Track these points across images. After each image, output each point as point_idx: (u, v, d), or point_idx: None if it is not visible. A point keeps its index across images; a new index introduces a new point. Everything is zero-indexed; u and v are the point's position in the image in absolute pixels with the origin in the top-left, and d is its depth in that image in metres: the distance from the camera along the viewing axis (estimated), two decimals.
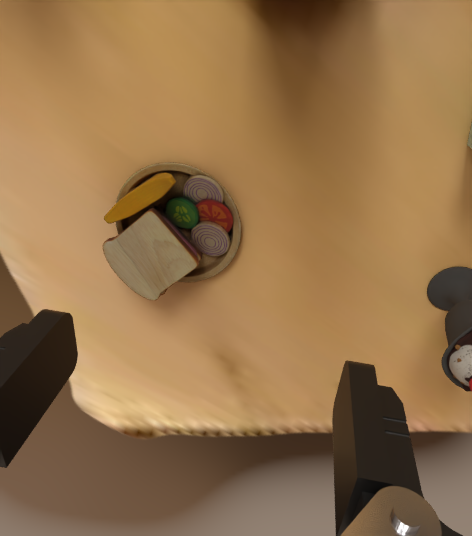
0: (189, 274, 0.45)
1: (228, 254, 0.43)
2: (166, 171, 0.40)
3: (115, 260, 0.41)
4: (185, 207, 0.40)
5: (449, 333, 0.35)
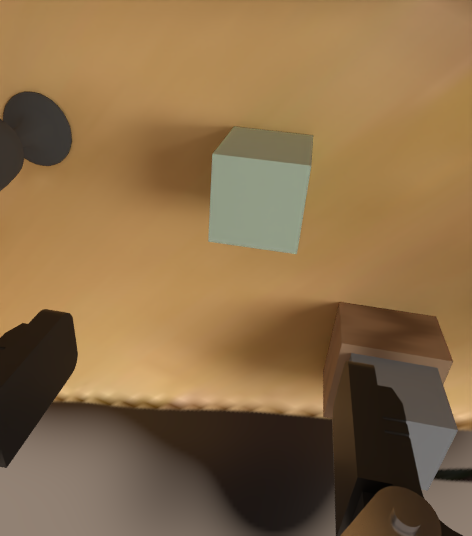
0: None
1: None
2: None
3: None
4: None
5: None
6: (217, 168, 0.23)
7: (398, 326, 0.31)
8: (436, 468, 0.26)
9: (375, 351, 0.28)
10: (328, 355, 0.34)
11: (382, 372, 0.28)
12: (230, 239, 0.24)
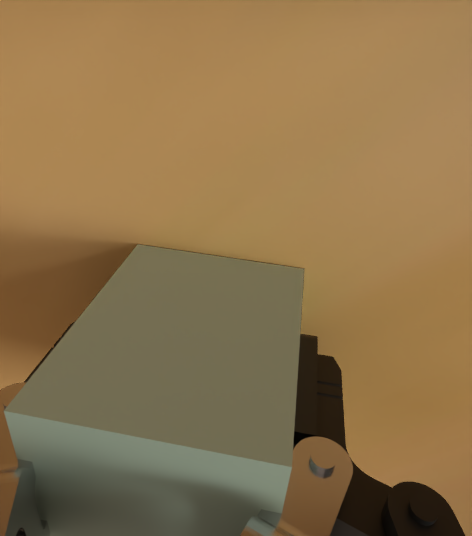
0: None
1: None
2: None
3: None
4: None
5: None
6: (26, 442, 0.08)
7: None
8: None
9: None
10: None
11: None
12: None
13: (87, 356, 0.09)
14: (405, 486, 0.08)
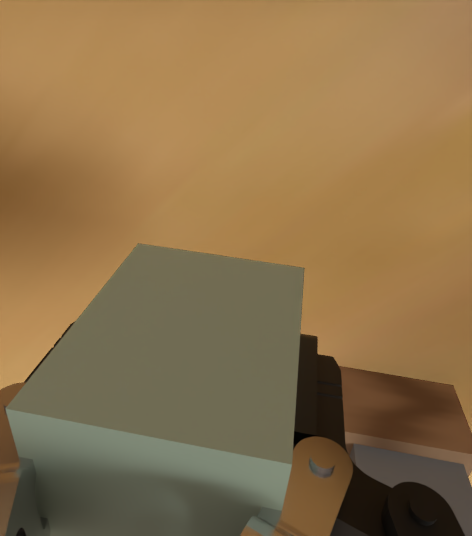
0: None
1: None
2: None
3: None
4: None
5: None
6: (28, 439, 0.08)
7: (407, 401, 0.24)
8: None
9: (380, 441, 0.22)
10: None
11: (394, 474, 0.21)
12: None
13: (88, 354, 0.09)
14: (405, 486, 0.08)
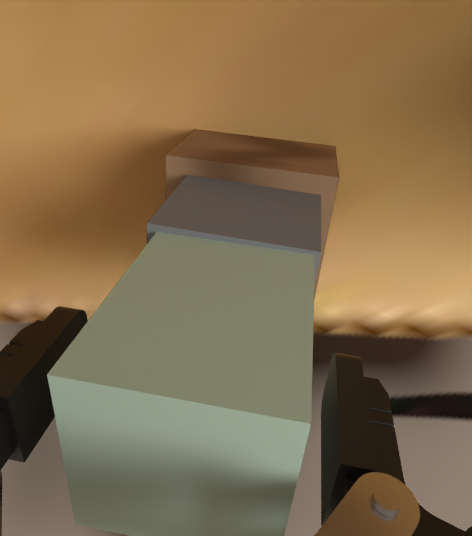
0: None
1: None
2: None
3: None
4: None
5: None
6: (66, 404, 0.09)
7: (270, 149, 0.20)
8: None
9: (217, 168, 0.18)
10: None
11: (225, 192, 0.17)
12: (123, 526, 0.11)
13: (118, 329, 0.10)
14: None
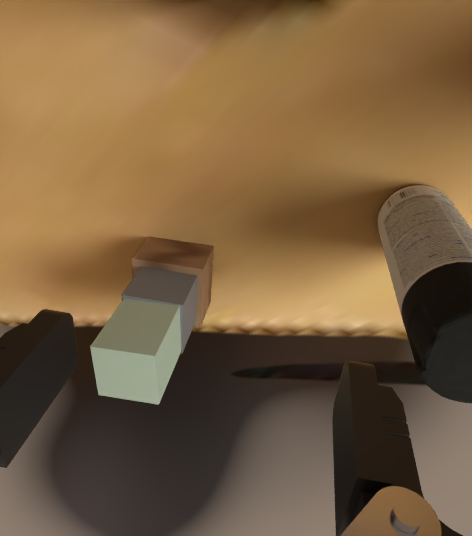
0: None
1: None
2: None
3: None
4: None
5: None
6: (95, 354, 0.33)
7: (180, 250, 0.44)
8: (181, 335, 0.39)
9: (153, 264, 0.42)
10: None
11: (155, 276, 0.41)
12: (113, 394, 0.35)
13: (108, 334, 0.34)
14: None
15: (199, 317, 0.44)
